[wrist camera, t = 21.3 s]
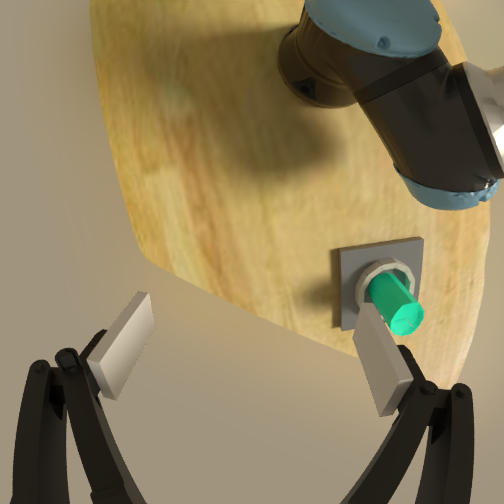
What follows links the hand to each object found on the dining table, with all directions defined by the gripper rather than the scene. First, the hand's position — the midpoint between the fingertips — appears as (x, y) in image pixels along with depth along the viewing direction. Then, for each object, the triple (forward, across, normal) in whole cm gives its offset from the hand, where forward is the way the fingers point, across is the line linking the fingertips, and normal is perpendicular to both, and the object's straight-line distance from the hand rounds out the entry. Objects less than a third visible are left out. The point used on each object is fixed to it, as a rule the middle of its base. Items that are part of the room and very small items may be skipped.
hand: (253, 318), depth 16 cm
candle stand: (+29, +22, -12) cm, 38 cm away
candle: (+27, +22, -12) cm, 37 cm away
